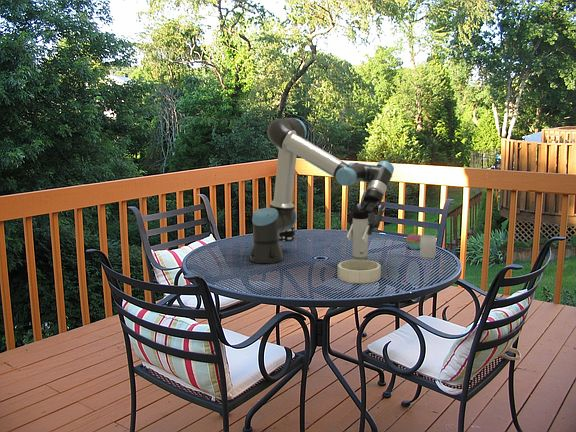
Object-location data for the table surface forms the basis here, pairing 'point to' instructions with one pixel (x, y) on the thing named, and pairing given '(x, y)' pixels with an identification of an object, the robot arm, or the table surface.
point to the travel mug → (360, 234)
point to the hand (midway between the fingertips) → (356, 239)
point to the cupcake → (414, 240)
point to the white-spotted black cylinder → (288, 234)
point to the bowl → (359, 271)
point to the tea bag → (428, 246)
